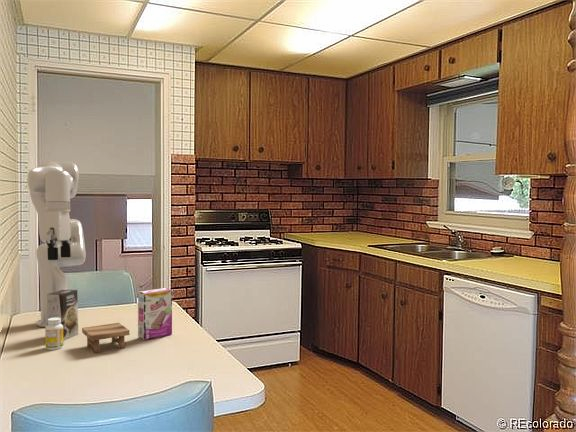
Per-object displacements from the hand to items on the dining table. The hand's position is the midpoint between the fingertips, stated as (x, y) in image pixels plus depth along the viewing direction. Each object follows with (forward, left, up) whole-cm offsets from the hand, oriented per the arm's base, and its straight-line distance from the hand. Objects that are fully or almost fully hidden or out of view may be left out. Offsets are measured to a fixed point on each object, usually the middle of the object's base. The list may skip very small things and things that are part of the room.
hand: (59, 258), depth 175 cm
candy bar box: (+10, +29, -29) cm, 42 cm away
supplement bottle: (+4, -3, -29) cm, 29 cm away
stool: (+13, +11, -29) cm, 33 cm away
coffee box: (-8, +2, -29) cm, 30 cm away
